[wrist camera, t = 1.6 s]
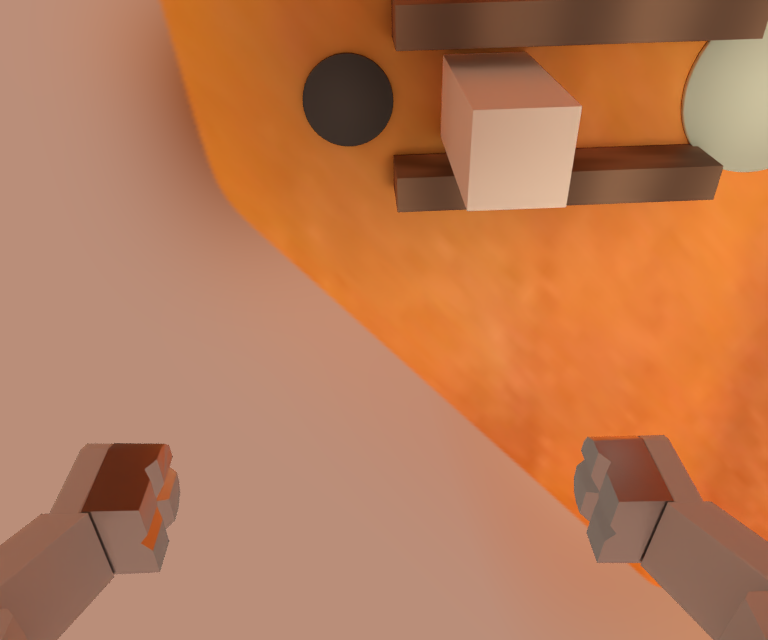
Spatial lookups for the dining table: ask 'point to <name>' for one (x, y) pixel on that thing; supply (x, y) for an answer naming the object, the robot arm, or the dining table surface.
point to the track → (573, 27)
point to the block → (507, 131)
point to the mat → (729, 103)
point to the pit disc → (347, 99)
